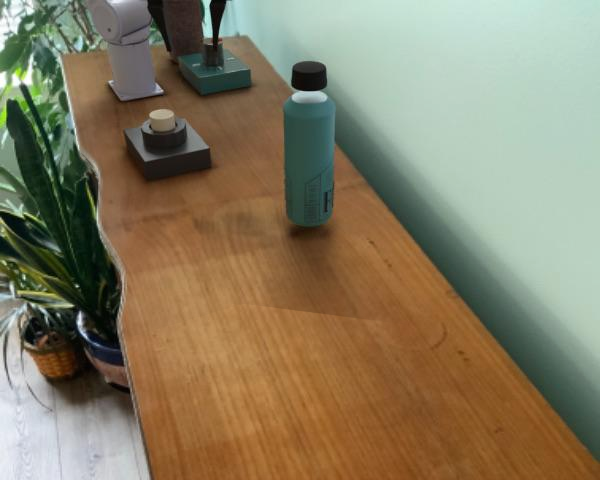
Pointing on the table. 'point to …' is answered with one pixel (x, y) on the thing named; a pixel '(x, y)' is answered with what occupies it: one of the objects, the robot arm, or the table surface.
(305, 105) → the beverage bottle
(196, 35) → the dark brown tall block
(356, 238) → the table surface
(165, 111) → the push button
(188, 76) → the dial panel
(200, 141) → the button base
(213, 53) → the knob
